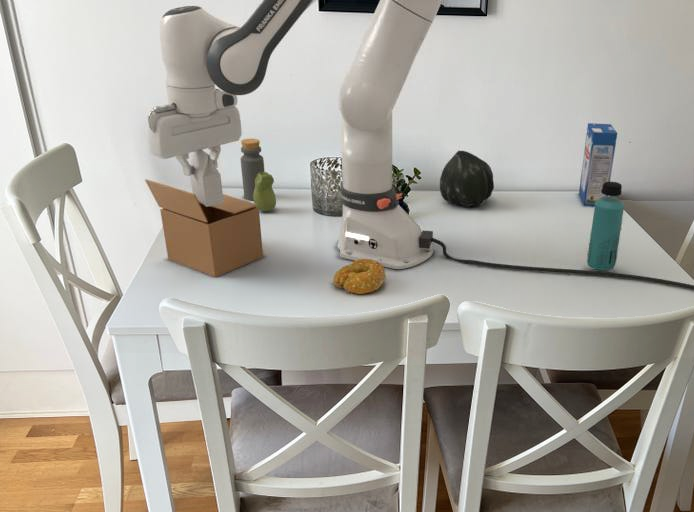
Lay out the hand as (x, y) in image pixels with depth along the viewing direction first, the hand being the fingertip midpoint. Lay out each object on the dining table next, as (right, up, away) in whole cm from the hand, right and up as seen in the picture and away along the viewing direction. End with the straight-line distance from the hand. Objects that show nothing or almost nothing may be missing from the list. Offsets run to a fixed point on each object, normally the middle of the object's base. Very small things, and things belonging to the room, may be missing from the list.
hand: (201, 171), depth 150 cm
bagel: (+31, -23, +6) cm, 39 cm away
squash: (+54, +5, +54) cm, 77 cm away
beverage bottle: (+83, -18, +17) cm, 87 cm away
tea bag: (+1, -5, +2) cm, 6 cm away
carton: (-2, -15, +15) cm, 21 cm away
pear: (+3, 0, +42) cm, 42 cm away
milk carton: (+90, +7, +59) cm, 108 cm away
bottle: (-2, +6, +51) cm, 51 cm away
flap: (-5, -6, +1) cm, 8 cm away
